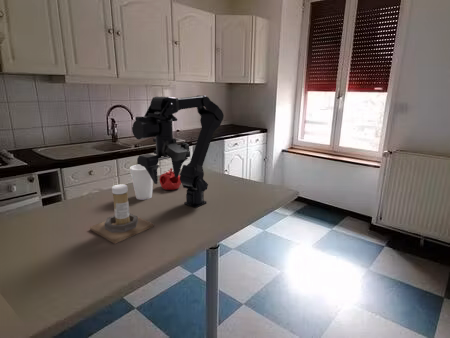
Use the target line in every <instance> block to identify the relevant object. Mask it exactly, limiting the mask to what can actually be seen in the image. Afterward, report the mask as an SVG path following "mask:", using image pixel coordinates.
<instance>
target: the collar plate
mask: <svg viewBox="0 0 450 338" xmlns="http://www.w3.org/2000/svg"><path fill="white" fill-rule="evenodd" d="M129 218H130V222H129V223H127V224H124V225H116V219H115V214H114V215H111V216H109V217H107V218H106V220H105V221H103V222H100V223H97V224H95V225H91V226H90V227H89V230H90V231H91V232H93V233H95V234H97V235H98V236H100V237H101V238H104V239H106V240H107V241H109V242H110V243H113V244H117V243H120V242H123V241H124V240H127V239H128V238H131V237H133V236H136V235H138V234H140V233H143V232H144V231H146V230H149V229H152V228H153V227H154V223H153V222H150V221H148V220H146V219H143V218H141V217H139V216H138V215H135V214H133V213H131V212H129Z"/></svg>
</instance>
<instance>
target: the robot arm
mask: <svg viewBox="0 0 450 338" xmlns="http://www.w3.org/2000/svg"><path fill="white" fill-rule="evenodd" d="M193 108H196V110H197V113H198V114H199V116H200V119H199V120H200V125H201V126H200V127H201V129H200V131H199V135H198V137H197V141H196V144H195V147H194V149H193V153H192V155H191V150H190V144H188V143H182V144H178V143H177V139H176V138H174V136H173V135H174V133H173V130H174V129H173V126H174V125H173V122H177V121H178V118H177V117H176V116H175V115H174V114H177V113H178V112H179V111H181V110H186V109H193ZM134 118H135V120H134V121H133V123H132V127H131V132H132V134H133V136H134V138H135V139H136V140H143V139H144V140H145V139H151V138H152V142H154V143H155V149H156V150H153V154H151V153H146V154H140V155H138V156H137V160H136V161H137V165H138V164H140V165H141V166H144V167H145V169H146V170H147V171H148V173H149V175H150V176H151V178H152V180H153V184H154V185H157V184H158V168H159V167H160V165H158V164H159V161H163V160H167V159H171V164H172V172H173V171H174V175H175V177H176V178H178V175H180V181H181V185H182V188H183V189H186V194H185V195H186V196H185V198H186V201H184V202H183V203H184V205H187V206H190V207H193V208H199V207H200V206H202V205H205V204H207V201H206V200H205V199H204V192H205V191H206V190H207V189H208V186H209V184H208V182H207V181H205V179H204V176H205V172H204V168H203V166H204V162H205V160H206V157H207V153H208V150H209V148H210V145H211V142H212V140H213V139H212V138H213V136H214V133H215V131H217V129H219V128H220V126H221V124H222V122H223V120H224V111H223V110H222V109H221V108H220V107H219V105H217V104H216V103H215V102H214V101H212V100H211V99H210V98H209V96H207V95H198V94H197V95H195V96H186V97H172V96H154V97H152V98H151V101H150V104H149V106H148V108H147V110H146V112H145V114H144V115H143V116H135V117H134ZM190 157H191V158H190ZM189 158H190V161H189V163H187V164H183V163H184V162H185V161H187V160H188V159H189Z"/></svg>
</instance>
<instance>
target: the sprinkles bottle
mask: <svg viewBox="0 0 450 338" xmlns="http://www.w3.org/2000/svg"><path fill="white" fill-rule="evenodd" d="M128 189H129V188H128V185H127V184H125V183H121V184H115V185H112V186H111V192H112V196H113V197H112V198H113V209H114V215H115V219H116V225H124V224H127V223H129V222H130V218H129V213H130V205H129V198H128V197H129V196H128V191H129V190H128Z"/></svg>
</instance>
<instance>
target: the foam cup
mask: <svg viewBox="0 0 450 338" xmlns="http://www.w3.org/2000/svg"><path fill="white" fill-rule="evenodd" d="M129 174H130V175H131V180H132V186H133V189H134V194H135V198H136V200H142V201H143V200H144V201H145V200H149V199H151V198H152V197H153V187H154V185H153V184H154V182H153V180H152V178H151V176H150V175H149V173H148V171H147V170H146V169H145V167H144V166H141V165H140V164H138V163H137V164H135V165H131V166H130V167H129Z"/></svg>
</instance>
